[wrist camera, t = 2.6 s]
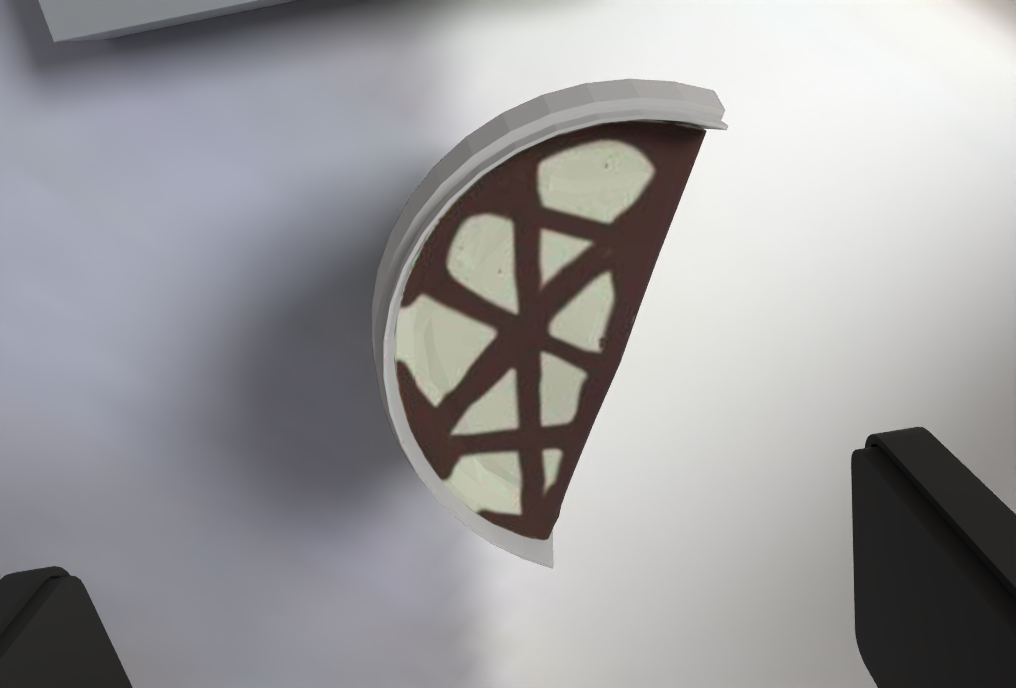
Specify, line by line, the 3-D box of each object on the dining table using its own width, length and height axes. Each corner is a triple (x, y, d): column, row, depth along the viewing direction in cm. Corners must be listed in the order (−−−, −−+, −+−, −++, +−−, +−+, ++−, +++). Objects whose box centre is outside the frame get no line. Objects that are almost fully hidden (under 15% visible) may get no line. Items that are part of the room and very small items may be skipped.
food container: (464, 7, 24) (437, 0, 15) (653, 69, 25) (738, 99, 16) (371, 362, 29) (306, 525, 19) (534, 407, 29) (545, 585, 20)
